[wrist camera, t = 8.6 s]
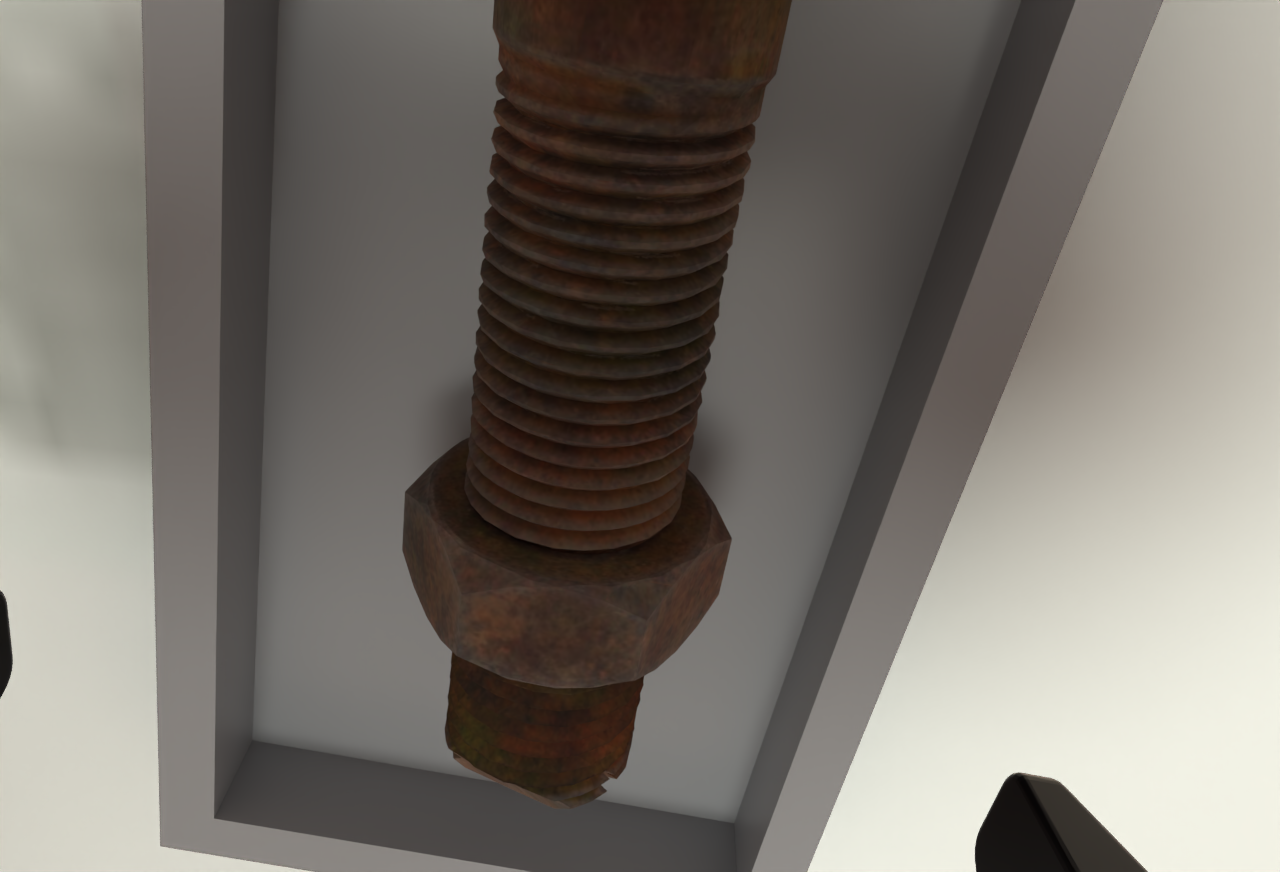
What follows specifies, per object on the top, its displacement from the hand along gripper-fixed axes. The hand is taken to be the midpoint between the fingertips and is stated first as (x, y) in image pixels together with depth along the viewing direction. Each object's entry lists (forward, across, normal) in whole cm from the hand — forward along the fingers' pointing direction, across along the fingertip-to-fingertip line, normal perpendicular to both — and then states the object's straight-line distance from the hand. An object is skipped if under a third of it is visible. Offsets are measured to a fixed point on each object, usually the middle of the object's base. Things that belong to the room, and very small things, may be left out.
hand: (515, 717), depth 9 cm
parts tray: (+9, 0, 0) cm, 9 cm away
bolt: (+9, 0, 0) cm, 9 cm away
